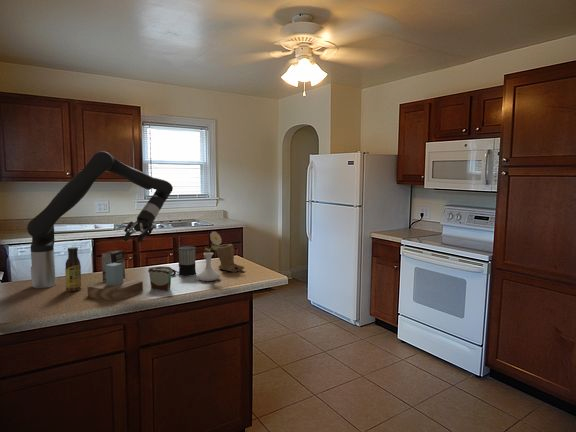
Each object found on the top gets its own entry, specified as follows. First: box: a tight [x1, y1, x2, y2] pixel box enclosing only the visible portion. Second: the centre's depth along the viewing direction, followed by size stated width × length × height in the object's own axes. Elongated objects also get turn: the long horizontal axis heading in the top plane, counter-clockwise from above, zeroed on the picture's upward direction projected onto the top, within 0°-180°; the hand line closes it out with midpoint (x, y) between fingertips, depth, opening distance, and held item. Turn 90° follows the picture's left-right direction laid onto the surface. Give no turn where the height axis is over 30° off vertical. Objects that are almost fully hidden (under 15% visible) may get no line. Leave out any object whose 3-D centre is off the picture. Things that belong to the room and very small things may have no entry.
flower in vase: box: [196, 231, 223, 282], centre depth 193 cm, size 13×11×25 cm
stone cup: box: [215, 243, 245, 273], centre depth 213 cm, size 15×12×15 cm
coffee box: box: [101, 249, 126, 282], centre depth 184 cm, size 9×6×16 cm
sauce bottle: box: [64, 246, 82, 292], centre depth 174 cm, size 7×6×20 cm
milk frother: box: [171, 245, 197, 278], centre depth 202 cm, size 14×16×15 cm
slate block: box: [105, 263, 123, 286], centre depth 169 cm, size 5×5×9 cm
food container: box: [147, 266, 173, 292], centre depth 177 cm, size 12×6×10 cm, turn 71°
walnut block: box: [87, 278, 144, 302], centre depth 169 cm, size 16×16×5 cm
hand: (131, 240), depth 176 cm, fingers open, 8 cm apart
